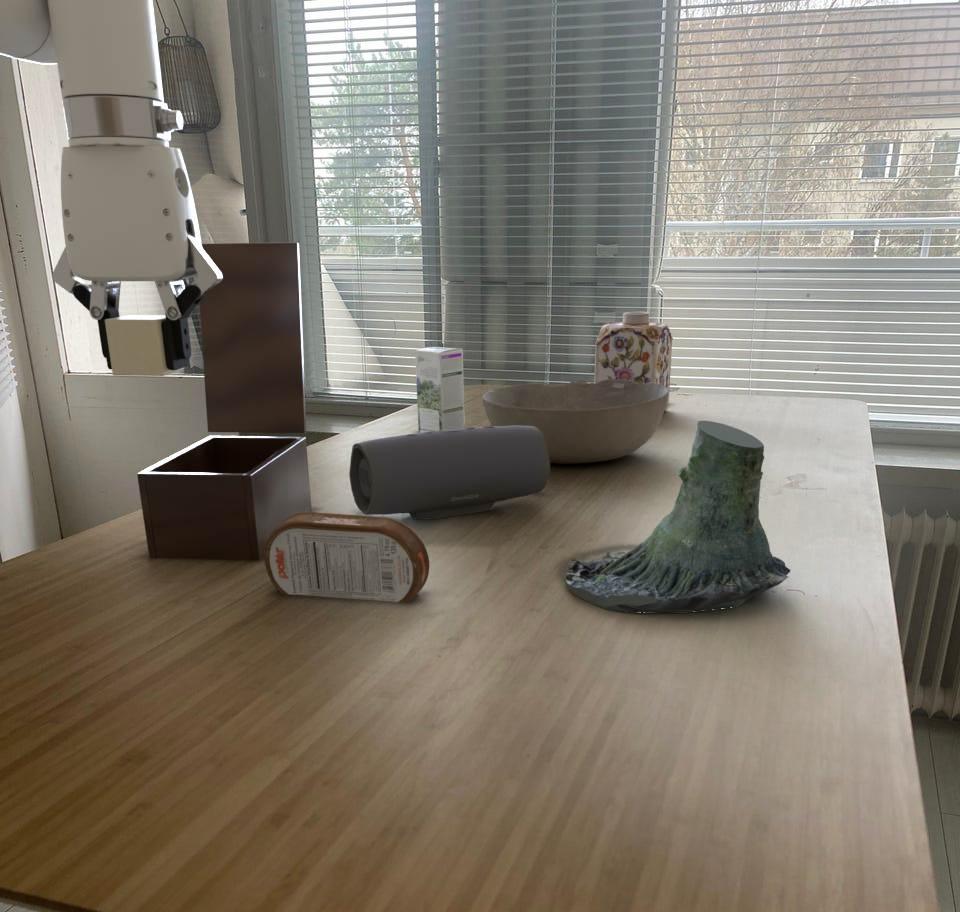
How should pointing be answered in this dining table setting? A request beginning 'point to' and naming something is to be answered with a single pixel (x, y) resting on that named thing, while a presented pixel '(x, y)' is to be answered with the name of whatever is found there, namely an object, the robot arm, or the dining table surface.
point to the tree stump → (694, 538)
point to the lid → (254, 340)
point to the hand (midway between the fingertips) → (148, 365)
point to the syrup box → (439, 388)
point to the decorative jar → (634, 351)
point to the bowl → (582, 416)
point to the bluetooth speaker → (448, 470)
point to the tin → (346, 557)
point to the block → (137, 345)
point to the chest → (223, 496)
